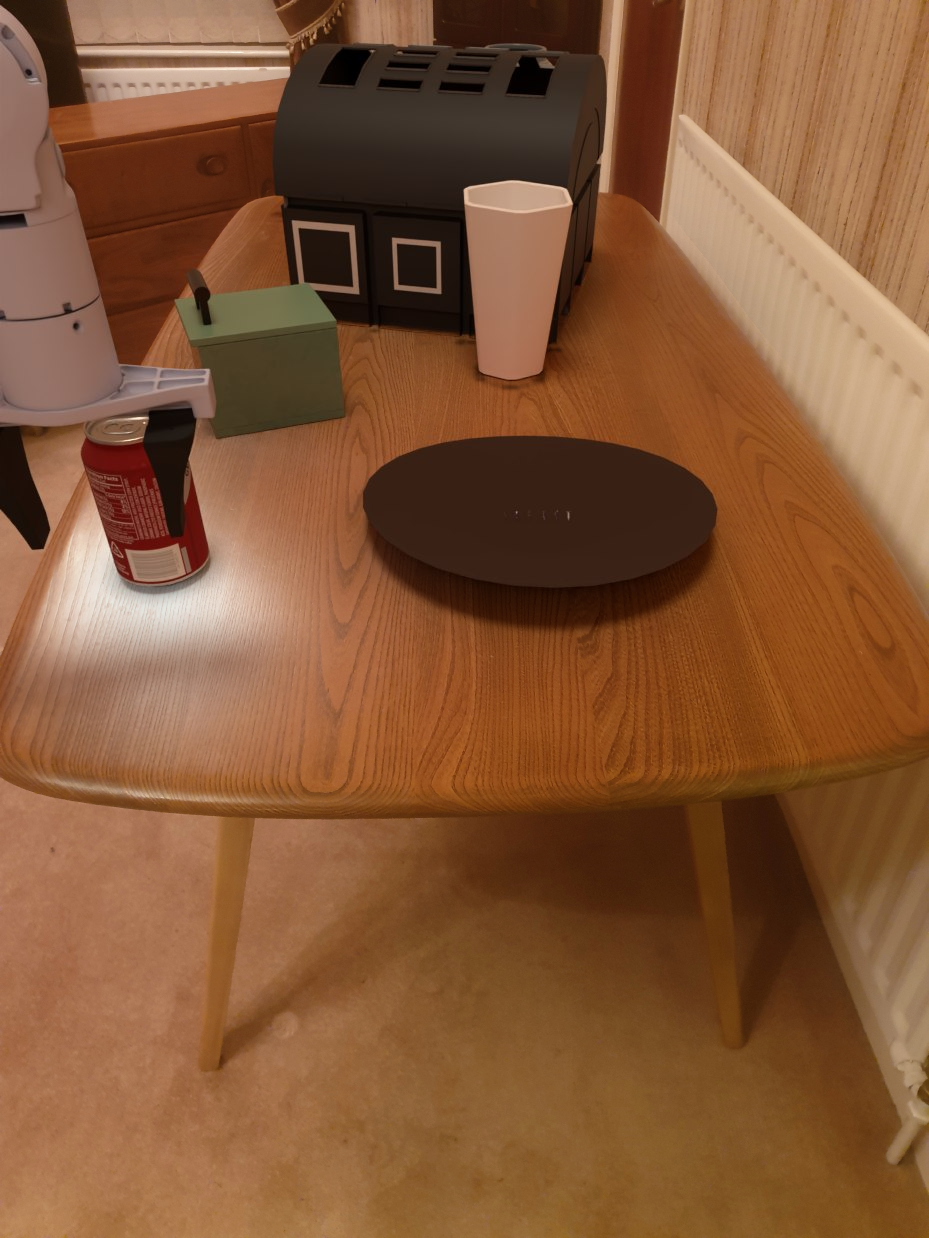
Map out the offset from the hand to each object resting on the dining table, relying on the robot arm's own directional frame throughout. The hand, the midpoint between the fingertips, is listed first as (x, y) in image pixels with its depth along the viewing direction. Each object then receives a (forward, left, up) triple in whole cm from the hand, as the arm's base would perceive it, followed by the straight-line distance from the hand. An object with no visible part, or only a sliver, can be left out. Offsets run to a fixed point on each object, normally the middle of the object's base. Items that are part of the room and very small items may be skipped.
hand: (110, 534), depth 50 cm
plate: (+31, +7, -11) cm, 34 cm away
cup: (+41, +35, -11) cm, 55 cm away
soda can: (+2, +11, -11) cm, 15 cm away
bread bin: (+15, +35, -10) cm, 39 cm away
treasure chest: (+44, +60, -11) cm, 75 cm away
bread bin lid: (+15, +35, -2) cm, 38 cm away
